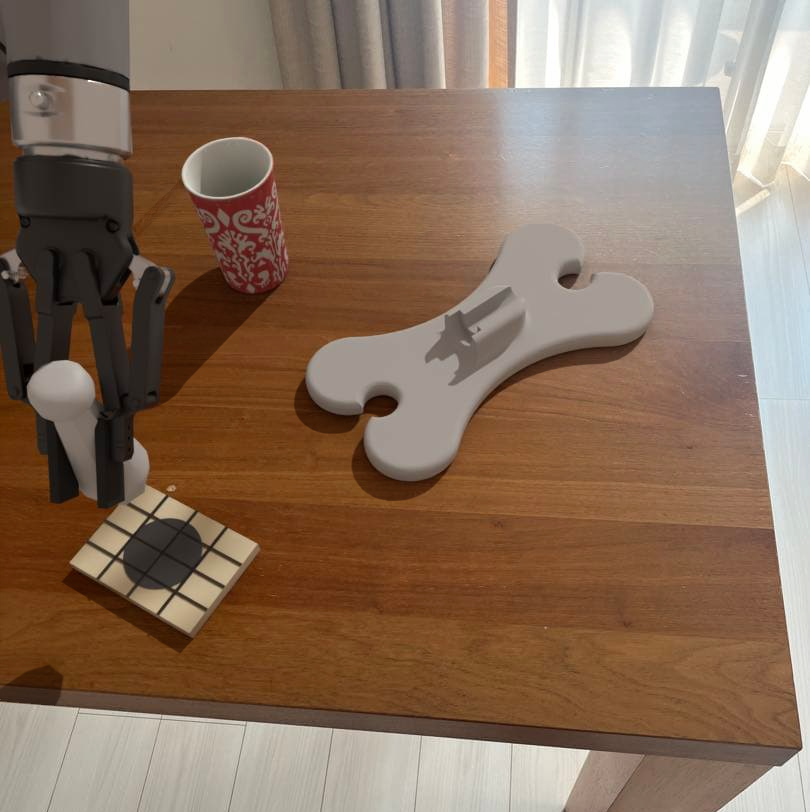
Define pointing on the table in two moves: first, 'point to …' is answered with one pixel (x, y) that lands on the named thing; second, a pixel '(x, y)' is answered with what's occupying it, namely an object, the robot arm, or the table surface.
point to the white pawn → (81, 424)
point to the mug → (239, 211)
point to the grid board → (166, 559)
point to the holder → (475, 348)
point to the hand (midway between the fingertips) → (88, 501)
